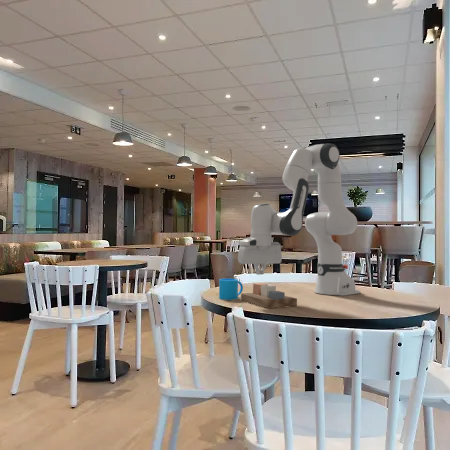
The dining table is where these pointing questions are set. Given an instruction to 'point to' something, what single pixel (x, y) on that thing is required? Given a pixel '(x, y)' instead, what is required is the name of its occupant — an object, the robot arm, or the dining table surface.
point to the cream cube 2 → (267, 290)
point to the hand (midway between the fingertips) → (259, 274)
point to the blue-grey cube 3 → (276, 295)
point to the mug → (229, 289)
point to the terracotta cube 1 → (257, 288)
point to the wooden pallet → (268, 301)
